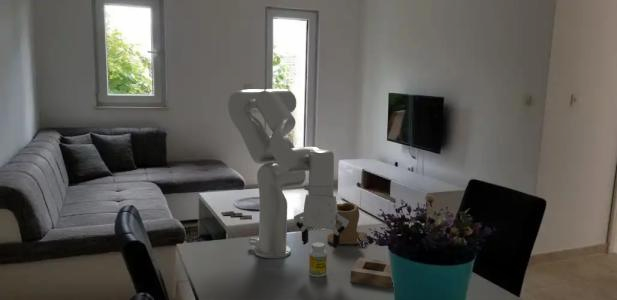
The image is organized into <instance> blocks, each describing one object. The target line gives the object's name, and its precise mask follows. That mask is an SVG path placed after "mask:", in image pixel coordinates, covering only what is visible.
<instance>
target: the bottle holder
mask: <svg viewBox="0 0 617 300" xmlns="http://www.w3.org/2000/svg"><path fill="white" fill-rule="evenodd" d="M390 262H391V261H387V260H380V259H373V258H366V257H358V259H357V260H356V262H355V263H354V265H353V267H352V269H351V270H350V282H351V283H356V284H361V285H362V284H363V285H368V286H375V287H380V288H381V287H382V288H385V289H386V288H387V289H390V288H391V287H392V285H393V282H392V278H391V270H390Z"/></svg>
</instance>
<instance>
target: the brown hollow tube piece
mask: <svg viewBox="0 0 617 300" xmlns="http://www.w3.org/2000/svg"><path fill="white" fill-rule="evenodd" d="M337 210H338V214H339V215H340V216H342V217H344V218H345V219H347V220H348V221H349V223H348V224H347V226H346V228H345V229H344V230H343V231H342V232H341V233H340V243H339V245H360V244H359V242H358V241H357V237H359V238H360V239H361V240H364V239H365V238H366V236H368V233H367V232H364V231H363V232H362V231H361V232H359V231H358V229H357V228H358V225H359V224H358V223H359V222H360V221H359V220H360V210H359V206H357V204H354V203H352V202H343V203H337ZM342 224H343V223H342V222H340V221H339V220H338V223H337V226H338V227H339V228H340V227H341V226H342ZM334 234H335V233H334V232H332V233H329V234H328V235H327V241H328V243H331V244H333V236H334ZM366 239H367V238H366Z"/></svg>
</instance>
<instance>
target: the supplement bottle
mask: <svg viewBox="0 0 617 300" xmlns="http://www.w3.org/2000/svg"><path fill="white" fill-rule="evenodd" d="M325 249H326V244H325V243H324V242H313V243H312V244H311V250H310V251H309V263H308V264H309V265H308V267H309V269H308V271H309V272H308V274H309V275H310V276H312V277H316V278H323V277H324V276H326V274H327V259H328V258H327V255H328V254H327V251H326V250H325Z"/></svg>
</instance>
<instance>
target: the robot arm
mask: <svg viewBox="0 0 617 300" xmlns="http://www.w3.org/2000/svg"><path fill="white" fill-rule="evenodd" d="M227 102H228V104H227V111H228V113H229V118H230V120H231V121H232V123H233V125H234V126H235V128H236V129H237V131H238V132H239V134H240V136H241V138H242V140H243V142H244V145H245V146H246V148H247V149H246V150H247V151H248V153H249V155H250V157H251V159H252V160H253V162H254V163H256V164H260V165H261V166H260V167H259V169H258V170H257V173H256V182H257V186H258V194H259V195H258V196H259V207H258V208H259V211H258V214H259V220H258V221H259V222H258V228H259V229H258V237H257V238H256V237H254V236H253V237H251V236H249V237H248V244H249V245H251V246H255V247H254V250H253V251H254V252H253V253H254V254H255V255H256V256H258V257H261V258H263V259H264V258H265V259H282V258H286V257H288V256H289V255H290V254H291V251H292V249H291V247H290V246H288V245H287V239H288V238H287V236H288V235H287V234H288V233H287V232H288V231H287V229H288V201H287V198H286V196H285V194H284V192H283V190H287V189H293V188H298V187H302V185H303V184H304V183H305V181H306V178H307V177H306V176H307V172H308V184H307V185H304V188H303V189H304V191H307V194H306V195H305V197H304V203H303V211H302V212H301V213H298V214H296V215H294V216H293V220H294V222H295V224H296V226H297V228H298V229H300V232H301V241H302V244H303V245H307V244H308V243H309V230H308V228H311V229H321V230H332V233H335V234H334V236H333V243H332V247H333V248H334V249H336V248H337V247H338V245H340V244H339V243H340V233H341V232H342V231H343V230H344V229H345V228H346V226H347V224H348V223H349V221H348V220H347V219H345V218H344V217H342V216H340V215H339V214H338V210H337V204H338V201H337V196H336V194H334V185H335V184H334V183H335V182H334V179H335V178H334V177H335V175H334V174H335V173H334V172H335V170H334V169H335V155H334V152H333V151H332V150H330V149H321V148H318V147H317V146H301V147H300V146H299V147H295V145H294V144H293V142H292V141H291V140H290V139H289V138H288V137H286V136H287V135H288V134H290V133H291V132H292V131H293V129H294V128H295V127H296V118H295V117H294V116H293V114H292V113H293V112H294V111H295V110H296V108H297V97H296V96H295V94H294V93H293V92H292V91H291V90H289V89H286V88H285V89H284V88H282V89H279V88H267V89H240V90H236V91H234V92H232V93H231V94H230V96H229V98H228V101H227ZM253 114H260V115H261V116H262V118H263V120H265V122H266V124H267V126H268V127H269V129H270V130H271V135H269V134H268V132H267V131H266V128H265V126H264V125H263V124H262V121H260V120H259V119H258V118H257V117H255V116H254V115H253ZM301 218H302V221H301ZM338 220H339V221H340V222H342V223H343V224H342V226H341V227H340V228H339V227H338V226H337V223H338Z"/></svg>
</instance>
